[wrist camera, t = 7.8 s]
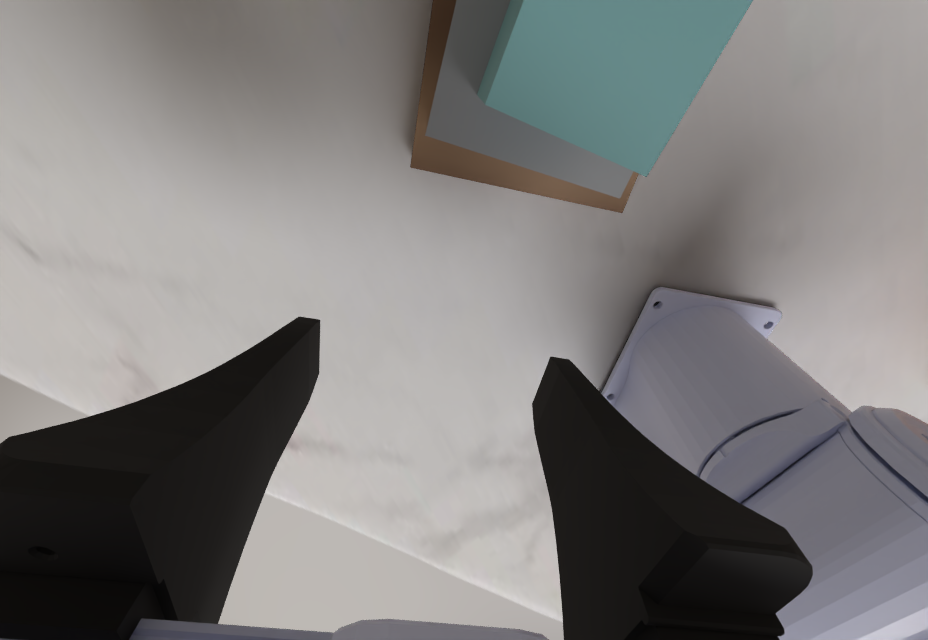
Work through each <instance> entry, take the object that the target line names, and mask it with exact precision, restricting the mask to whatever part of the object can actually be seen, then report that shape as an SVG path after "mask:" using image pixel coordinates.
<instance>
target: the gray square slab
mask: <svg viewBox="0 0 928 640" xmlns="http://www.w3.org/2000/svg"><path fill="white" fill-rule="evenodd" d="M510 1H511V0H456V5H455V9H454V13H453V18H452V22H451V26H450V31H449V35H448V39H447V43H446V48H445V52H444V56H443V61H442V65H441V69H440V74H439V78H438V82H437V87H436V91H435V95H434V99H433V104H432V108H431V112H430V117H429V121H428V125H427V130H426V134H425V136H428V137H431V138H434V139H438V140H441V141H444V142H447V143H450V144H453V145H456V146H459V147H462V148H465V149H468V150H471V151H475V152H478V153H481V154H484V155H487V156H490V157H493V158H496V159H499V160H502V161H505V162H508V163H512V164H515V165H518V166H521V167H524V168H527V169H530V170H533V171H536V172H539V173H542V174H545V175H549V176H552V177H555V178H558V179H561V180H564V181H567V182H570V183H573V184H576V185H579V186H582V187H586V188H589V189H592V190H595V191H598V192H601V193H604V194H607V195H610V196H613V197H616V198H619V199H620V198H621V196H622V194H623V192H624V189H625V187H626V185H627V183H628V181H629V179H630V177H631V175H632V173H633V171H632V170H630V169H627V168H625V167H623V166H621V165H618V164H616V163H614V162H612V161H610V160H607V159H605V158H603V157H601V156H598V155H596V154H594V153H592V152H590V151H587V150H585V149H583V148H581V147H578V146H576V145H574V144H572V143H569V142H567V141H565V140H563V139H561V138H558V137H556V136H554V135H552V134H549V133H547V132H545V131H543V130H540V129H538V128H536V127H534V126H532V125H529V124H527V123H525V122H523V121H520V120H518V119H516V118H514V117H512V116H509V115H507V114H505V113H503V112H500V111H498V110H496V109H494V108H491V107H489V106H487V105H485V104H484V103H483V101H482V100H481V99H480V98H479V97H478V95H477V93H478V90H479V87H480V84H481V82H482V79H483V76H484V73H485V70H486V68H487V65H488V62H489V59H490V56H491V54H492V51H493V48H494V45H495V42H496V40H497V37H498V34H499V31H500V28H501V26H502V23H503V20H504V17H505V14H506V12H507V9H508V6H509V3H510Z"/></svg>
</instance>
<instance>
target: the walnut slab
mask: <svg viewBox="0 0 928 640" xmlns="http://www.w3.org/2000/svg"><path fill="white" fill-rule="evenodd" d="M455 5H456V0H433V4H432V11H431V19H430V26H429V33H428V41H427V48H426V56H425V63H424V70H423V78H422V85H421V92H420V100H419V107H418V115H417V122H416V129H415V137H414V144H413V152H412V159H411V166H410V167H411V168H416V169H420V170H425V171H430V172H434V173H439V174H444V175H448V176H453V177H457V178H462V179H467V180H471V181H476V182H481V183H485V184H490V185H495V186H499V187H504V188H508V189H513V190H518V191H522V192H527V193H532V194H536V195H541V196H546V197H550V198H555V199H559V200H564V201H569V202H573V203H578V204H583V205H587V206H592V207H597V208H601V209H606V210H610V211H615V212H620V213H622V212H623V210H624V208H625V205H626V203H627V200H628V198H629V196H630V193H631V191H632V188H633V186H634V184H635V181H636V179H637V176H638V174H639V173H636V172H634V171H633V173H632V175H631V177H630V179H629V181H628V183H627V185H626V187H625V189H624V192H623V194H622V196H621V198H620V199H619V198H616V197H613V196H610V195H607V194H604V193H601V192H598V191H595V190H592V189H589V188H586V187H582V186H579V185H576V184H573V183H570V182H567V181H564V180H561V179H558V178H555V177H552V176H549V175H545V174H542V173H539V172H536V171H533V170H530V169H527V168H524V167H521V166H518V165H515V164H512V163H508V162H505V161H502V160H499V159H496V158H493V157H490V156H487V155H484V154H481V153H478V152H475V151H471V150H468V149H465V148H462V147H459V146H456V145H453V144H450V143H447V142H444V141H441V140H438V139H434V138H431V137H428V136H425V134H426V130H427V125H428V121H429V117H430V112H431V108H432V104H433V99H434V95H435V91H436V87H437V82H438V78H439V74H440V69H441V65H442V61H443V56H444V52H445V48H446V43H447V39H448V35H449V31H450V26H451V22H452V18H453V13H454V9H455Z"/></svg>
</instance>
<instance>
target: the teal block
mask: <svg viewBox="0 0 928 640" xmlns="http://www.w3.org/2000/svg"><path fill="white" fill-rule="evenodd" d="M752 1H753V0H511V1H510V3H509V6H508V9H507V12H506V14H505V17H504V20H503V23H502V26H501V28H500V31H499V34H498V37H497V40H496V42H495V45H494V48H493V51H492V54H491V56H490V59H489V62H488V65H487V68H486V70H485V73H484V76H483V79H482V82H481V84H480V87H479V90H478V93H477V95H478V97H479V98H480V99H481V100H482V101H483V103H484V104H485V105H487V106H489V107H491V108H494V109H496V110H498V111H500V112H503V113H505V114H507V115H509V116H512V117H514V118H516V119H518V120H520V121H523V122H525V123H527V124H529V125H532V126H534V127H536V128H538V129H540V130H543V131H545V132H547V133H549V134H552V135H554V136H556V137H558V138H561V139H563V140H565V141H567V142H569V143H572V144H574V145H576V146H578V147H581V148H583V149H585V150H587V151H590V152H592V153H594V154H596V155H598V156H601V157H603V158H605V159H607V160H610V161H612V162H614V163H616V164H618V165H621V166H623V167H625V168H627V169H630V170H632V171H634V172H636V173H639V174H641V175H643V176H645V177H647V175H648V174H649V172H650V170H651V169H652V167H653V165H654V164H655V162H656V160H657V159H658V157H659V156H660V154H661V152H662V151H663V149H664V147H665V146H666V144H667V142H668V141H669V139H670V137H671V136H672V134H673V132H674V131H675V129H676V127H677V126H678V124H679V122H680V121H681V119H682V117H683V116H684V114H685V112H686V111H687V109H688V107H689V106H690V104H691V102H692V101H693V99H694V97H695V96H696V94H697V92H698V91H699V89H700V87H701V86H702V84H703V82H704V81H705V79H706V78H707V76H708V74H709V73H710V71H711V69H712V68H713V66H714V64H715V63H716V61H717V59H718V58H719V56H720V54H721V53H722V51H723V49H724V48H725V46H726V44H727V43H728V41H729V39H730V38H731V36H732V34H733V33H734V31H735V29H736V28H737V26H738V24H739V23H740V21H741V19H742V18H743V16H744V14H745V13H746V11H747V9H748V8H749V6H750V4H751V3H752Z"/></svg>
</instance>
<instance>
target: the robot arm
mask: <svg viewBox="0 0 928 640" xmlns="http://www.w3.org/2000/svg"><path fill="white" fill-rule="evenodd" d="M657 301H660V302H659V304H658V305H656V306H653V305H654V303H655V302H657ZM781 317H782V313H781V311H779V310H778V309H776V308H773V307H768V306H763V305H757V304H752V303H746V302H741V301H736V300H730V299H725V298H719V297H714V296H709V295H703V294H698V293H693V292H687V291H682V290H676V289H671V288H666V287H658V288H656V289H654V290H653V291H652V293H651V294H650V296H649V298H648V300H647V302H646V304H645V306H644V308H643V310H642V312H641V315H640V317H639V319H638V321H637V323H636V325H635V327H634V329H633V331H632V333H631V335H630V337H629V339H628V341H627V343H626V345H625V347H624V349H623V351H622V353H621V355H620V357H619V359H618V361H617V363H616V365H615V367H614V369H613V371H612V373H611V375H610V377H609V379H608V381H607V383H606V385H605V387H604V389H603V391H602V393H600V392H599V391H598V390H597V389H596V388H595V387H594V386H593V384H592V383H591V382H590V381H589V380H588V379H587V378H586V377H585V376H584V375H583V374H582V372H581V371H580V370H579V369H578V368H577V367H576V366H575V365H574V364H573V363H572V362H571V361H570V360H569V359H562V358H556V357H550V359H549V362H548V365H547V367H546V370H545V372H544V375H543V377H542V380H541V383H540V385H539V388H538V390H537V393H536V396H535V398H534V401H533V403H532V407H533V420H534V429H535V436H536V440H537V445H538V449H539V453H540V458H541V462H542V466H543V470H544V475H545V479H546V483H547V487H548V492H549V496H550V501H551V506H552V512H553V520H554V528H555V536H556V544H557V554H558V564H559V574H560V586H561V599H562V612H563V630H564V640H928V424H926V423H925V422H923V421H921V420H919V419H917V418H915V417H913V416H911V415H909V414H907V413H905V412H903V411H901V410H898V409H893V408H875V407H872V406H861V407H859V408H858V409H857V410H855V411H854V412H853V413H852V412H851V411H850V410H849V409H848V408H847V407H845V406H844V405H843V404H842V403H841V402H840V401H838V400H837V399H836V398H835V397H834V396H833V395H831V394H830V393H829V392H828V391H827V390H826V389H825V388H823V387H822V386H821V385H820V384H819V383H818V382H816V381H815V380H814V379H813V378H812V377H811V376H809V375H808V374H807V373H806V372H805V371H804V370H802V369H801V368H800V367H799V366H798V365H797V364H796V363H794V362H793V361H792V360H791V359H790V358H789V357H787V356H786V355H785V354H784V353H783V352H782V351H780V350H779V349H778V348H777V347H776V346H775V345H773V344H772V343H771V342H770V341H769V340H768V339H767V338H768V336H769V335H770V333H771V332H772V330H773V329H774V328H775V326H776V325H777V323H778V322H779V321H780V319H781ZM767 322H768V323H767ZM765 323H767V324H766V325H764V324H765ZM319 351H320V320H318V319H311V318H305V317H298V318H296V319H295V320H293V321H292V322H290V323H289V324H287V325H286V326H284V327H282V328H281V329H279V330H278V331H276V332H275V333H273V334H272V335H270V336H269V337H267V338H266V339H264V340H263V341H261V342H260V343H258V344H256V345H255V346H253V347H252V348H250V349H248V350H247V351H245V352H243V353H241V354H240V355H238V356H236V357H234V358H233V359H231V360H229V361H227V362H226V363H224V364H222V365H220V366H218V367H216V368H215V369H213V370H211V371H209V372H207V373H205V374H203V375H200V376H198V377H196V378H194V379H192V380H189V381H187V382H185V383H183V384H180V385H178V386H176V387H173V388H171V389H168V390H165V391H163V392H160V393H158V394H155V395H152V396H150V397H147V398H145V399H142V400H140V401H137V402H134V403H131V404H128V405H125V406H122V407H119V408H116V409H113V410H110V411H106V412H103V413H100V414H96V415H93V416H90V417H87V418H83V419H79V420H76V421H73V422H68V423H65V424H60V425H57V426H52V427H48V428H45V429H40V430H36V431H33V432H29V433H25V434H20V435H16V436H11V437H9V438H7V439H6V440H5V441H3V442H2V443H1V444H0V640H549V639H547V638H546V637H545V636H544V635H542V634H537V633H533V632H529V631H524V630H520V629H509V628H508V629H507V628H496V627H483V626H470V625H459V624H446V623H433V622H421V621H409V620H395V619H379V620H361V621H358V622H355V623H352V624H349V625H347V626H344V627H341V628H339V629H338V630H337V631H336V632H334V633H331V632H317V631H303V630H290V629H277V628H262V627H250V626H237V625H223V624H218V621H219V619H220V616H221V613H222V609H223V607H224V603H225V601H226V598H227V595H228V591H229V588H230V586H231V583H232V580H233V577H234V574H235V571H236V568H237V566H238V563H239V560H240V557H241V554H242V551H243V549H244V546H245V543H246V540H247V538H248V535H249V532H250V530H251V527H252V524H253V521H254V519H255V516H256V514H257V511H258V508H259V506H260V503H261V501H262V498H263V496H264V493H265V490H266V488H267V485H268V483H269V480H270V478H271V476H272V473H273V471H274V469H275V467H276V465H277V463H278V461H279V459H280V457H281V455H282V453H283V451H284V449H285V447H286V445H287V443H288V441H289V440H290V438H291V436H292V434H293V432H294V430H295V428H296V426H297V424H298V422H299V420H300V418H301V416H302V414H303V412H304V410H305V408H306V406H307V404H308V402H309V400H310V397H311V395H312V392H313V389H314V386H315V383H316V380H317V378H318V375H319ZM609 394H612V395H610V396H608V395H609Z"/></svg>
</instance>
